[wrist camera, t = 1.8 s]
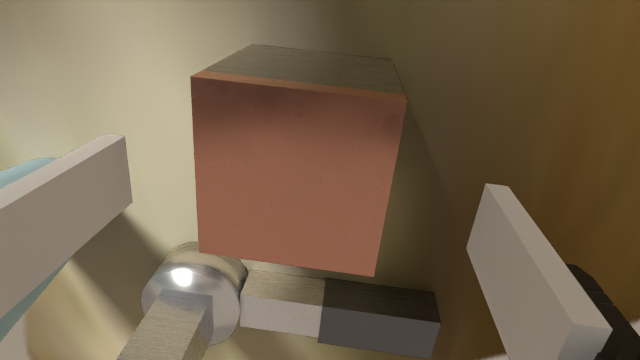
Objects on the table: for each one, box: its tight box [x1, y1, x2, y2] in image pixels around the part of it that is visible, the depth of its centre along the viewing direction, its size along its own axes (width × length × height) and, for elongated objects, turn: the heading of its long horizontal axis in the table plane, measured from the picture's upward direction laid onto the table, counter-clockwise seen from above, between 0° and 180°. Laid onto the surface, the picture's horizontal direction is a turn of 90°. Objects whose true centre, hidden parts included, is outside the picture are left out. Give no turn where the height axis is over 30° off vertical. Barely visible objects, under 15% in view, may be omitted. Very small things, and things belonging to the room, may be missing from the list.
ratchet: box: [117, 242, 441, 360], centre depth 23 cm, size 18×6×8 cm, turn 84°
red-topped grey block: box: [191, 44, 408, 277], centre depth 18 cm, size 7×7×8 cm
